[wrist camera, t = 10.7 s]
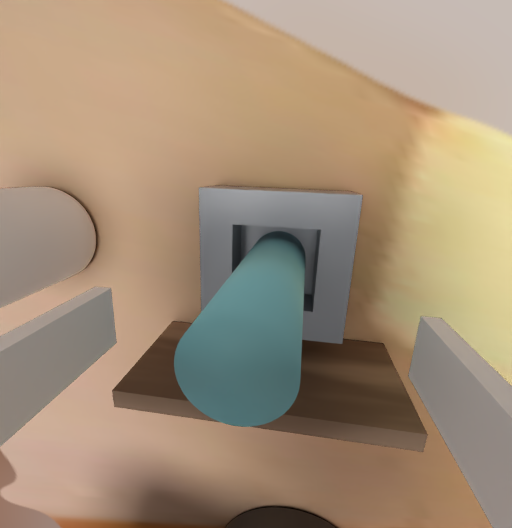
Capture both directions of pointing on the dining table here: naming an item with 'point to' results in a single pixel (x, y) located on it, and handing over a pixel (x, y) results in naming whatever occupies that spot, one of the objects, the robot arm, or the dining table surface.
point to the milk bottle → (41, 240)
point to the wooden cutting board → (299, 393)
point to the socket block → (291, 221)
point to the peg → (249, 338)
